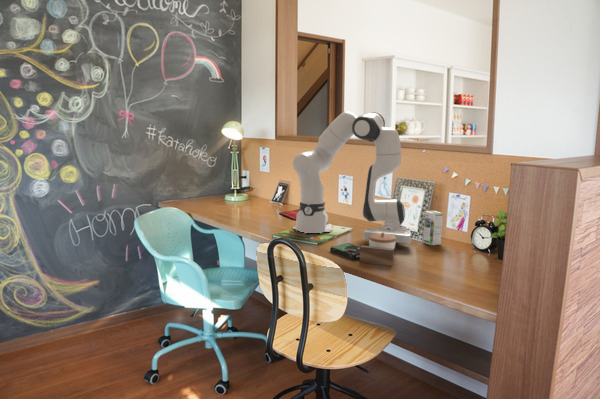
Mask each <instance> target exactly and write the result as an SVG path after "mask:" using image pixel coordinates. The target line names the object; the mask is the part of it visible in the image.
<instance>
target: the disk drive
mask: <svg viewBox="0 0 600 399" xmlns="http://www.w3.org/2000/svg"><path fill="white" fill-rule="evenodd" d="M360 247H361V246H358V245H355V244H354V243H350V242H348V243H347V242H346V243H342V244H338V245H334V246H331V247H330V248H329V249H330V253H333V254H335V255H338V256H341V257H343V258H346V259H349V260H351V261H358V260H359V261H360Z"/></svg>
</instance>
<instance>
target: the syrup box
mask: <svg viewBox="0 0 600 399" xmlns="http://www.w3.org/2000/svg"><path fill="white" fill-rule="evenodd" d="M424 213H425V214H424V225H423V239H422V243H423V244H426V245H429V246H437V245H441V244H442V235H443V234H442V233H443V220H444V219H443V218H444V212H440V211H437V210H427V211H425V212H424Z"/></svg>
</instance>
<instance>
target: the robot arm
mask: <svg viewBox="0 0 600 399" xmlns="http://www.w3.org/2000/svg"><path fill="white" fill-rule="evenodd" d="M385 124H386V120H385V119H384V116H382V114H380V113H378V112H374V111H373V112H367V113H366V112H365V113H364V114H361V115H358V116H357V115H356V114H355V113H353V112H351V111H343V112H341V113H340V114H339V115H337V117H335V119H334V120H333V121H332V122H330V124H329V125H328V126H327V127H326V128H325V129H324V131H323V132H322V134H320V136H319V137H318V142H317V143H316V146H315V147H314V148H313V149H311V150H309V151H302V152H301V153H298V154H297V155H295V156H294V158H293V160H292V167H293V169H294V171H295V173H296V174H297V177H298V180H299V185H300V202H299V205H298V206H299V209H300V211H299V212H298V213H297V218H296V220H295V226H293V227H292V229H293V230H294V229H296V230H295V231H297V230H298V231H300V232H307V233H320V234H323V233H322V232H330V230H331V231H332V228H333V224H331V223H329V222H328V221H329V214H327V212H326V211H325V210H326V208H325V206H326V202H325V201H324V196H325V195H324V194H325V192H324V190H325V188H324V185H323V183H322V181H321V177H320V174H321V173H324V172H326V171H327V170H329V169H330V168H331V165H332V162H333V160H334V158H335V157H336V155H338V154H337V153H338V152H339V151H340V150H341V149H342V148H343V147H344V146H345V144H346V143H347V142H348V141H349V140H350V139H351V137H352V136H355V137H356V138H358V139H360V140H363V141H367V142H370V143H374V145H375V146H374V147H375V160H374V162H373V164H372V165H370V166H369V169H368V173H367V179H366V185H365V195H364V201H363V202H364V203H363V206H362V215H363V216H362V217H364V219H365V220H366V221H368V222H371V223H372V222H379V221H381V222H383V221H384V223H383V224H382V225H381V226H380V228H379V229H378V228H367V229H365V230H364V231H363V233H362V238H363V240H367V241H369V236H370V235H371V234H381V233H382V232H383V233H384V234H390V235H393V236H395V237H396V243H398V244H407V245H408V244H409V245H410V244H411V243H412V231H411V230H410V229H411V228H410V227H407V226H404V225H403V223H404V222H405V218H406V217H405V215H406V213H405V212H406V211H405V206H404V204H403V203H402V201H401V200H400V199H398V198H396V199H376V198H375V193H376V187H377V181H378V180H379V179H380V178H383V177H384V176H388V175H390V174H392V173H394V172H395V171H397V170H398V169H399V168H400V166H401V164H402V145H401V144H402V143H401V138H400V135H399V132H398V131H397V130H396V129H395V128H393V127H386V125H385ZM298 231H297V232H298ZM300 232H299V233H300ZM330 233H331V232H330ZM396 243H395V244H396Z"/></svg>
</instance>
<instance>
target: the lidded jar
mask: <svg viewBox="0 0 600 399" xmlns="http://www.w3.org/2000/svg"><path fill="white" fill-rule="evenodd" d="M368 246H372V247H382V248H392V249H394V250H395V249H396V237H395V236H393V235H390V234H384V233H383V232H382V233H381V234H371V235H370V236H369V240H368Z"/></svg>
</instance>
